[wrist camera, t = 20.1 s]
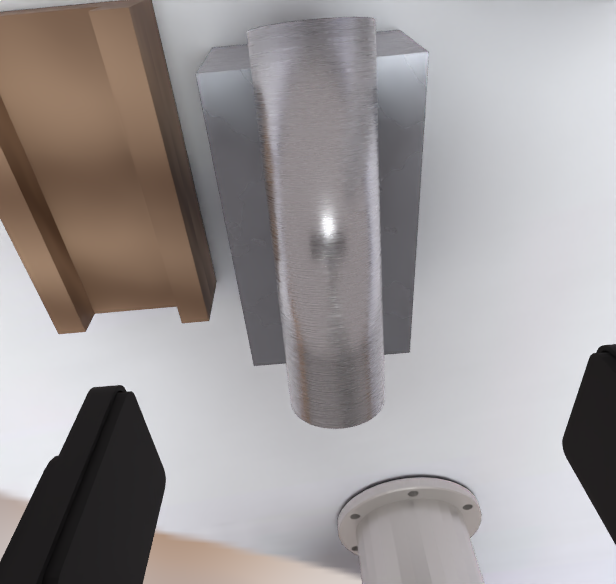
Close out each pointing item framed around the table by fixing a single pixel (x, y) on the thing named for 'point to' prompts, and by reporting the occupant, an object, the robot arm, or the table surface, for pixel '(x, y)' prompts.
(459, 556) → the robot arm
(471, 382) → the table surface
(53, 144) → the brown piece
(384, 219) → the v block
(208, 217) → the table surface
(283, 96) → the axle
